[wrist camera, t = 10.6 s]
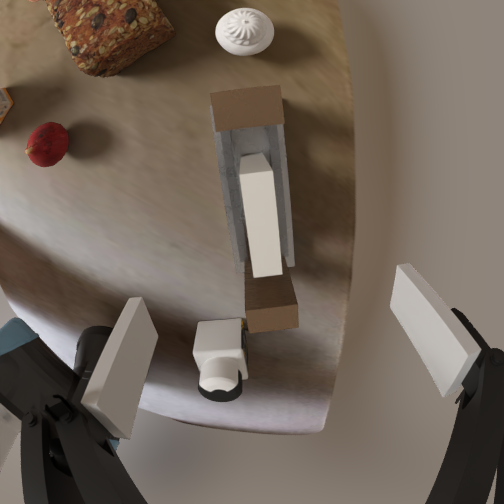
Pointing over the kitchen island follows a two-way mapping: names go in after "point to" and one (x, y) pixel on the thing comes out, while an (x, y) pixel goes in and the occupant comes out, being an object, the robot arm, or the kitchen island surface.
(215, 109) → the wood and metal rack
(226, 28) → the white rounded ridged piece
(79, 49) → the bread
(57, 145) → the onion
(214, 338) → the medicine bottle
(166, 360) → the kitchen island surface
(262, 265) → the door panel
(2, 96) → the supplement box
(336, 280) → the kitchen island surface
